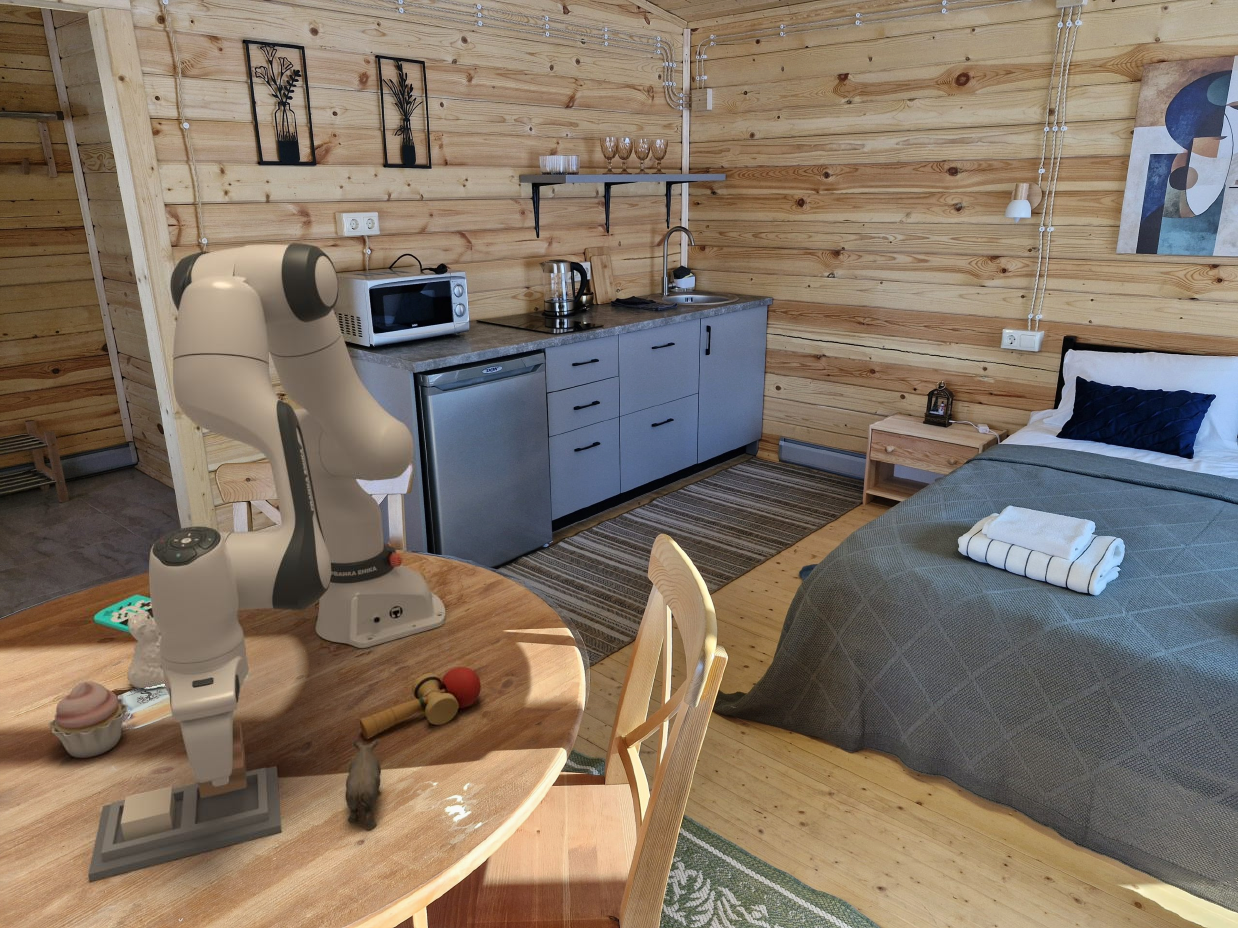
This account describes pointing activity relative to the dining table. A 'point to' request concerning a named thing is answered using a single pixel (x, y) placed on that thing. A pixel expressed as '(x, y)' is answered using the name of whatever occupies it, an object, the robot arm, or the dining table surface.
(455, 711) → the kendama
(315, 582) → the robot arm
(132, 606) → the handheld game console
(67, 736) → the cupcake
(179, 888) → the dining table surface
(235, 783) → the brown block
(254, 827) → the base plate
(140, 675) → the sitting furry creature
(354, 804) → the rhino figurine
